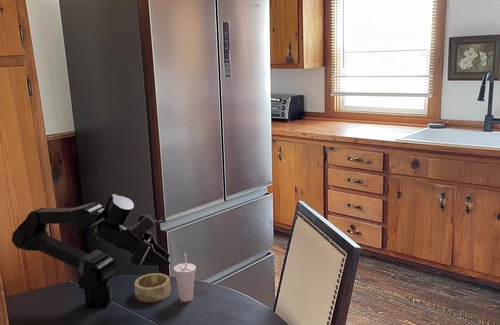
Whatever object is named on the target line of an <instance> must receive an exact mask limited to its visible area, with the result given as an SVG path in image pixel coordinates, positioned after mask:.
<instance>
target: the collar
mask: <svg viewBox="0 0 500 325" xmlns="http://www.w3.org/2000/svg"><path fill="white" fill-rule="evenodd" d="M170 295H171V277H169V276H168V275H167V274H165V273H164V274H163V273H161V272H158V273H147V274H144V275H141V276H139V277H138V278H136V279H135V281H134V297H135V298H136V299H137V301H140V302H143V303H144V302H145V303H154V302H158V301H163V300H164V299H166V298H167V297H169V296H170Z"/></svg>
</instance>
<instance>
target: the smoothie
mask: <svg viewBox="0 0 500 325" xmlns="http://www.w3.org/2000/svg"><path fill="white" fill-rule="evenodd" d="M187 257H188V256H187V253H185V252H184V262H183V263H179V264H176V265H175V266H174V267H173V273H174V275H175V281H176V286H177V289H178V296H179V300H180V301H181V302H184V303H186V302H190V301H192V300H193V299H194V290H195V289H194V286H195V278H196V277H195V276H196V275H195V274H196V271H197V266H196V265H195V264H193V263H190V262H188V261H187Z"/></svg>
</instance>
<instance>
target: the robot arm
mask: <svg viewBox="0 0 500 325" xmlns="http://www.w3.org/2000/svg"><path fill="white" fill-rule="evenodd" d="M134 208H135V204H134V202H133V201H132V200H131V199H130V198H128V197H126V196H123V195H118V194H117V193H113V194H111V195H109V196H108V199H107V202H106V204H105V205H103V204H101V203H99V202H97V201H94V202H90V203H86V204H83V205H80V206H76V207H51V208H49V207H47V208H46V207H39V208H37V209H34V210H32V211H30V212H29V213H28V214H27V216H26V218H25V219H24V220H23V221H22V222H21V223H20V224H19V225H18V227H17V228H16V229H15V230H14V231H13V232H12V235H11V242H12V244H13V245H14V247H15V248H17V249H19V250H23V251H28V252H40V253H43V254H45V255H47V256H48V257H49V256H50V257H51V258H54V259H55V260H58V261H59V262H62V263H64V264H66V265H68V266H70V267H73V268H74V269H76V270H78V271H79V274H80V276H81V277H80V278H79V279H78V280H77V284H78V287H79V288H80V289H82V290H84V298H85V300H84V301H85V304H84V306H83V308H84V309H85V310H86V309H103V308H108V307H109V304H110V303H111V302H112V299H113V292H112V291H113V290H112V284H110V281H109V280H110V279H112V278H113V275H114V273H115V272H116V270H117V269H116V268H117V266H116V262H115V260H114V259H113V258H114V257H113V258H112V257H111V255H110V253H105V252H103V251H101V250H99V249H95V250H93V251H92V252H90V253H88V252H85V251H82V250H81V249H79V248H77V247H74V246H72V245H69V244H68V243H65V242H64V241H61V240H59V239H57V238H54V237H52V236H50V234H49V233H48V230H47V227H48V225H50V224H54V225H55V224H56V225H57V224H58V225H59V224H64V225H65V224H69V225H73V226H74V227H75V228H79V229H85V230H86V229H89V228H92V226H95V225H96V227H95V228H94V229H91V230H90V233H89V236H90V238H91V239H90V240H91V243H93V244H94V243H96V241H97V239H98V238H99V239H101V240H103V241H104V242H106V243H109V244H112V245H113V246H115V249H117V250H120V249H121V250H123V251H125V252H127V253H129V255H130V262H131V264H133V265H135V266H138V267H139V265H140V267H141V266H142V267H143V266H157V267H158V266H160V267H161V266H162V267H169V266H170V264H171V261H169V260H168V259H169V258H170V256H171V254H170V253H168V252H167V251H166V250H165V249H164V248H162V246H161V245H159V244H158V243H157V242H156V240H155V237H154V236H155V235H154V234H152V232H150V231H149V230H150V229H152V228H153V227H154V226H156V224H157V223H156V221H155V219H153V217H152V216H151V215H150V214H146V215H145V214H141V215H139V216H138V218H137V221H138V222H137V223H136V224H135V225H134V226H133V227H132V226H131V225H127V226H125V225H124V224H126V222H127V219H128V218H129V216H130V214H131V212H132V211H133V209H134Z"/></svg>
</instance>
